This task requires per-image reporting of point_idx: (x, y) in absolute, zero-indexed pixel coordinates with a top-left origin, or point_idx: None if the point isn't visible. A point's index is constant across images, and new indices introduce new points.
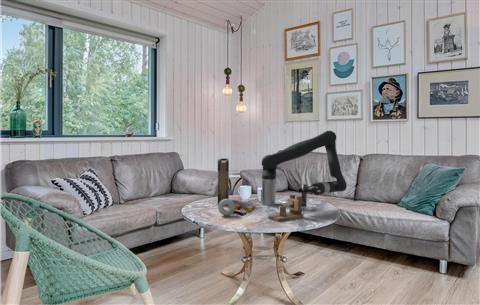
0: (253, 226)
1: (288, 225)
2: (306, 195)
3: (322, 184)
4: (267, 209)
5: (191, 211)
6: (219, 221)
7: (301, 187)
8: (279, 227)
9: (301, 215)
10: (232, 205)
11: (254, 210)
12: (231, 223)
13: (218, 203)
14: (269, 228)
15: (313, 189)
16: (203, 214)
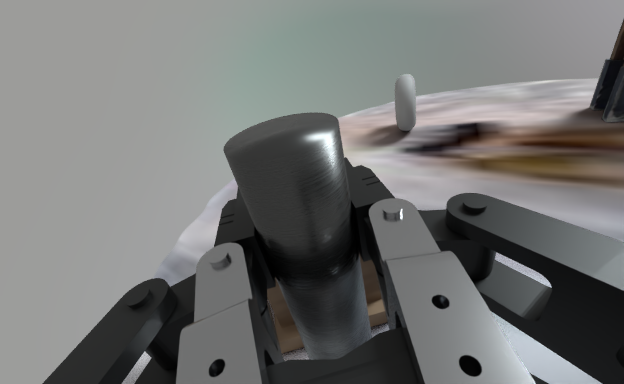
0: None
1: (212, 227)
2: (291, 313)
3: None
4: None
5: (467, 92)
6: (347, 125)
7: (449, 200)
8: (217, 202)
9: (276, 324)
10: (395, 102)
11: (506, 177)
12: None
13: (593, 99)
14: (229, 184)
15: (96, 334)
16: (428, 105)
